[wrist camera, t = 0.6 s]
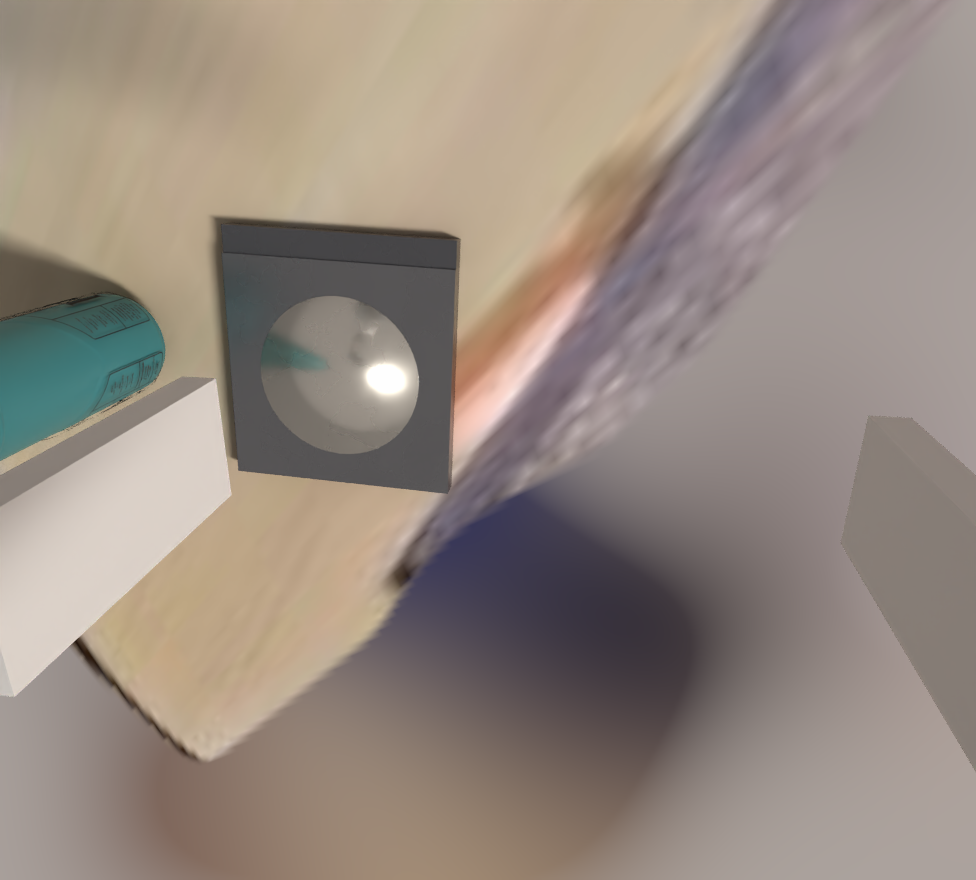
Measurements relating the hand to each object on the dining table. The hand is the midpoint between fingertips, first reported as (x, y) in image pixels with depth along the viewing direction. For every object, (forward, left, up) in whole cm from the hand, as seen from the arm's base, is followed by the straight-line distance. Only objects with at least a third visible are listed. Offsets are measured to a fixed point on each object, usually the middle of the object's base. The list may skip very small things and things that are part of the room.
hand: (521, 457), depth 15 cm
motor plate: (+7, -14, -29) cm, 33 cm away
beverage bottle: (+6, -28, -29) cm, 41 cm away
